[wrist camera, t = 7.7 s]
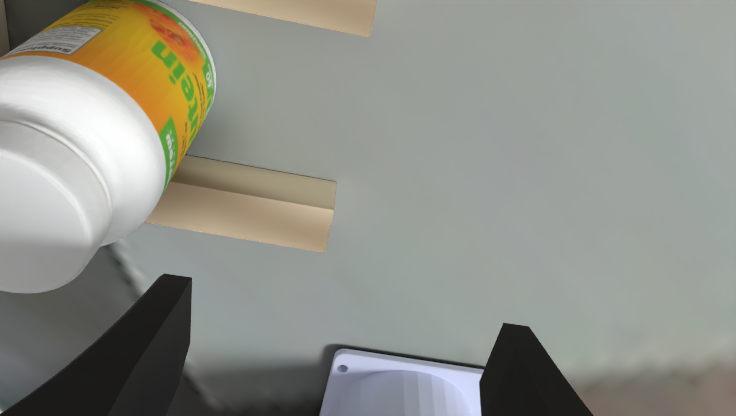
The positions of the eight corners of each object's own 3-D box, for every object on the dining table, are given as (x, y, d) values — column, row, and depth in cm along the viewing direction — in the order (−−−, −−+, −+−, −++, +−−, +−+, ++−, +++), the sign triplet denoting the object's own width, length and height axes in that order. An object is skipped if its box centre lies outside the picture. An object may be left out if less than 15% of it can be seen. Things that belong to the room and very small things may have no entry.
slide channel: (328, 223, 25) (325, 252, 23) (-29, 161, 24) (-60, 188, 22) (382, -44, 19) (383, -30, 18) (-84, -146, 18) (-131, -142, 16)
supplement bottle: (238, 125, 23) (159, 303, 14) (102, 147, 23) (-47, 330, 15) (189, -25, 20) (56, 92, 12) (35, 5, 20) (-195, 136, 12)
